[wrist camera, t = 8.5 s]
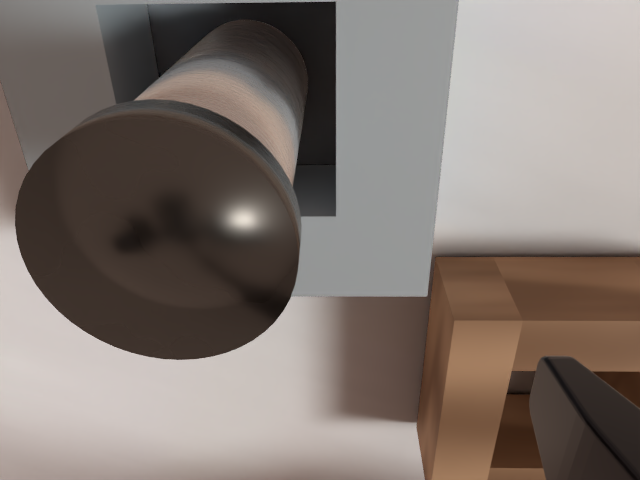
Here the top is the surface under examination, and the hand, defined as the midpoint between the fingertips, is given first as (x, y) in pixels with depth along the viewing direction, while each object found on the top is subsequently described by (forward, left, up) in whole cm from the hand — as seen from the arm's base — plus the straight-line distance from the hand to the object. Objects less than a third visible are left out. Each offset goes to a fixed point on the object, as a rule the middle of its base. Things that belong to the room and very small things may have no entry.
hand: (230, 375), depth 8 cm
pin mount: (-11, -11, -13) cm, 20 cm away
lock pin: (+1, +1, -13) cm, 13 cm away
